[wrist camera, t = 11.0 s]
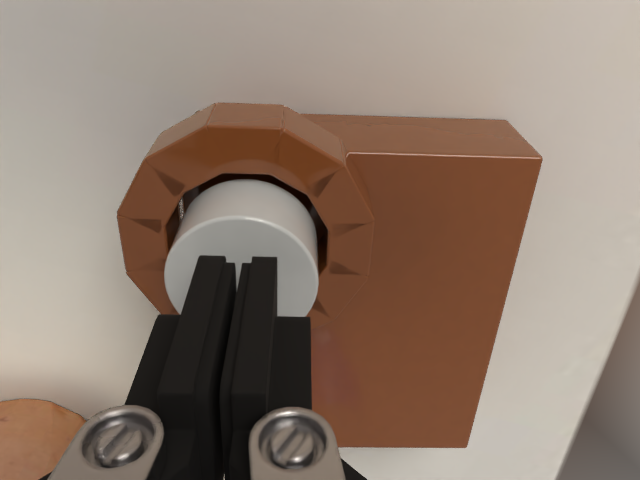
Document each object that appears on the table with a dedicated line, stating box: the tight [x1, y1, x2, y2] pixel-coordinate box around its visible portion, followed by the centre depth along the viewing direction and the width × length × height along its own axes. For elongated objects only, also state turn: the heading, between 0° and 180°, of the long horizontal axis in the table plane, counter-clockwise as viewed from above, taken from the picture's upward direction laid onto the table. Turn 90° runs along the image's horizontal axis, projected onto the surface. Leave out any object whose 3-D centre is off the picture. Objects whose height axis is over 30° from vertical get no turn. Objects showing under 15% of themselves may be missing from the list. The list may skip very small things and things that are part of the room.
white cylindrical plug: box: [164, 179, 319, 317], centre depth 14 cm, size 4×4×2 cm
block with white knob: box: [117, 103, 542, 448], centre depth 18 cm, size 13×11×5 cm
